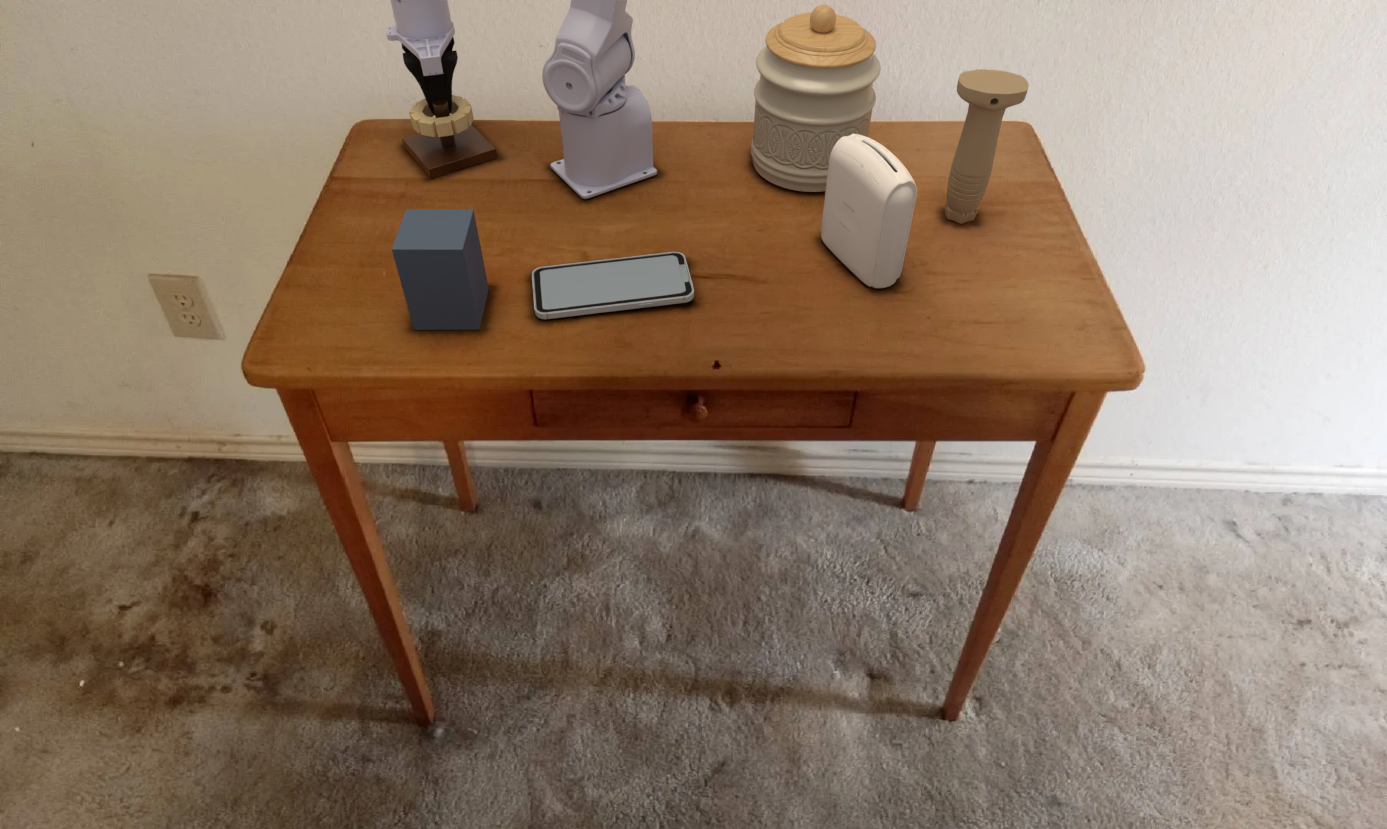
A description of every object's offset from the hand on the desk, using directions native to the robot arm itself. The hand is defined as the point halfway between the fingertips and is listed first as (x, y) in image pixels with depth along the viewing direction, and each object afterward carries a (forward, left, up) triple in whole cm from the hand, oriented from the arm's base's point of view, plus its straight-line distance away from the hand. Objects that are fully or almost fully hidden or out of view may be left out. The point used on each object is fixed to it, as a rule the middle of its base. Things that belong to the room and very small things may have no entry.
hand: (441, 107), depth 104 cm
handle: (-39, +44, -4) cm, 59 cm away
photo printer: (-25, +44, -4) cm, 51 cm away
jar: (-32, +27, -4) cm, 42 cm away
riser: (+12, +29, -4) cm, 31 cm away
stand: (+1, +3, -4) cm, 5 cm away
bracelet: (+1, +2, 0) cm, 2 cm away
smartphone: (-2, +35, -4) cm, 35 cm away
